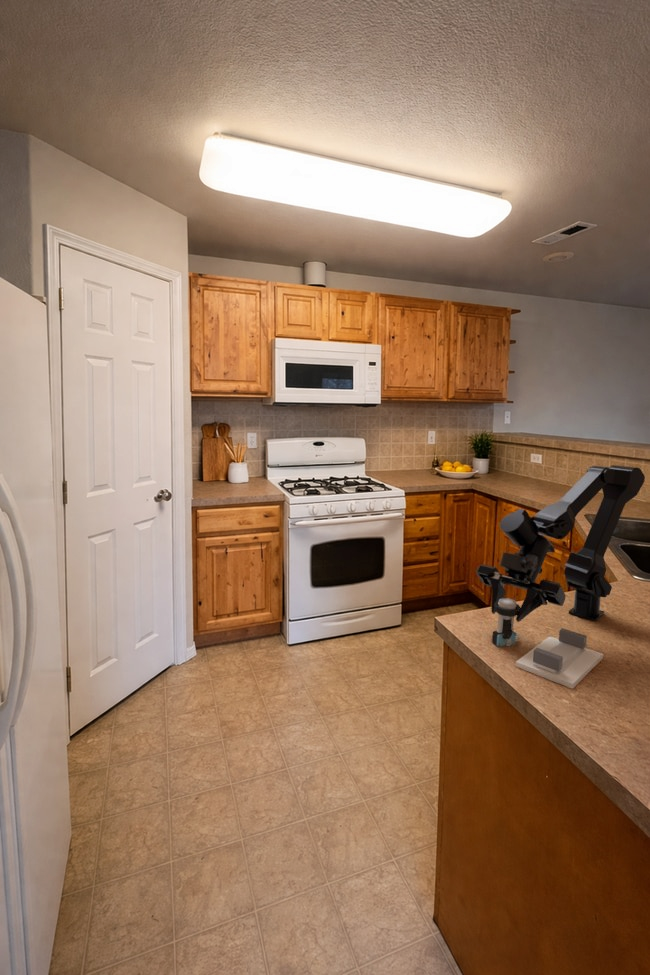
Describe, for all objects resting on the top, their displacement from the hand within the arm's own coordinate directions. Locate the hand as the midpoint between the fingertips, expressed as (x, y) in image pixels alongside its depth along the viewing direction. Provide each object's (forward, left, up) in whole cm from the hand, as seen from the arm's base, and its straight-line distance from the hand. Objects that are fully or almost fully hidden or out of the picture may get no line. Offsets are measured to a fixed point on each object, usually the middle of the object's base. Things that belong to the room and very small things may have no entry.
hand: (504, 616), depth 105 cm
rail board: (-1, +12, -7) cm, 13 cm away
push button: (-1, 0, -7) cm, 7 cm away
